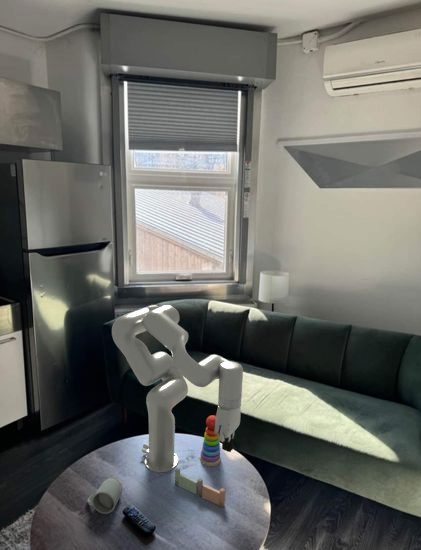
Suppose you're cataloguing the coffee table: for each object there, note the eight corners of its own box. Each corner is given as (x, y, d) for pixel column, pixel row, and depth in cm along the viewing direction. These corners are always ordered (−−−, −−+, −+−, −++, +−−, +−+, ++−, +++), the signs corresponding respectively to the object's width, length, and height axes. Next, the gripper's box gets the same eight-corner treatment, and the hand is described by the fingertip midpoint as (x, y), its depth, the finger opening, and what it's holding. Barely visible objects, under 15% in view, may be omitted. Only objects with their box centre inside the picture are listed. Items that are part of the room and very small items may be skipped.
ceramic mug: (124, 496, 135) (123, 476, 133) (115, 515, 127) (114, 494, 125) (94, 492, 136) (93, 472, 134) (83, 511, 128) (82, 490, 126)
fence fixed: (173, 484, 140) (174, 470, 139) (176, 481, 141) (176, 467, 140) (195, 494, 135) (195, 480, 134) (198, 491, 137) (198, 477, 136)
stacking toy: (218, 469, 149) (220, 424, 145) (197, 465, 151) (199, 421, 146) (222, 455, 157) (224, 412, 152) (202, 452, 158) (204, 409, 154)
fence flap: (196, 495, 135) (196, 480, 134) (198, 491, 137) (199, 477, 136) (222, 508, 130) (223, 493, 129) (225, 504, 132) (226, 489, 131)
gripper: (230, 387, 138) (227, 434, 142) (208, 406, 125) (206, 458, 129) (250, 393, 135) (247, 441, 139) (229, 414, 122) (226, 466, 126)
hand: (227, 449), depth 134 cm, fingers closed
